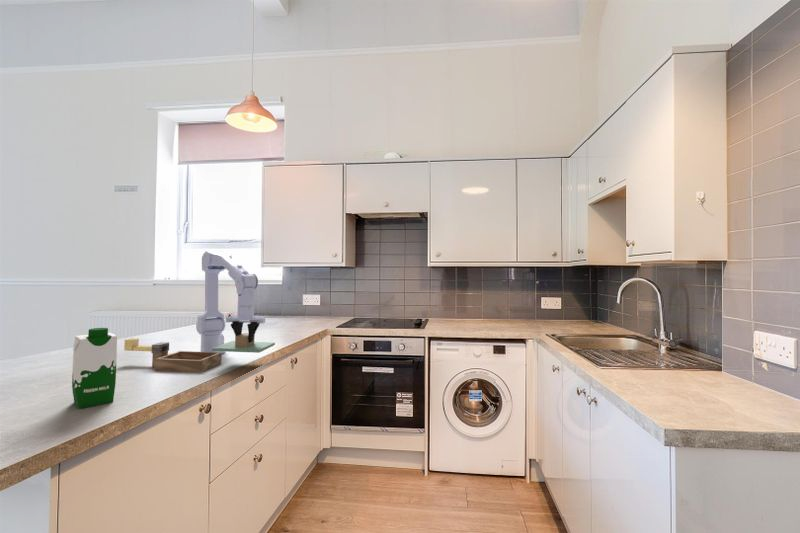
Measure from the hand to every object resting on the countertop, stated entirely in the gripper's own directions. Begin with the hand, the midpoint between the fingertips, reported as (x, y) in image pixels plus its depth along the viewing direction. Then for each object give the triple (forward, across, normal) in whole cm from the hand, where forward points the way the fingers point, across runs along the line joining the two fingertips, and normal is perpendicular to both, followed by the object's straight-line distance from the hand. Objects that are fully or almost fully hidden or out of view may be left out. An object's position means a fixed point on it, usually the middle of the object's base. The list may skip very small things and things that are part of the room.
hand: (244, 341), depth 135 cm
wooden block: (+4, -37, -3) cm, 38 cm away
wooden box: (+9, -22, -3) cm, 24 cm away
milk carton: (+10, -22, -40) cm, 46 cm away
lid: (+2, 0, 0) cm, 2 cm away
